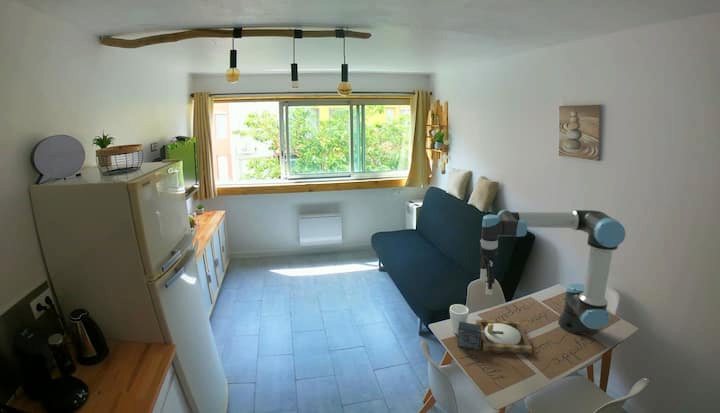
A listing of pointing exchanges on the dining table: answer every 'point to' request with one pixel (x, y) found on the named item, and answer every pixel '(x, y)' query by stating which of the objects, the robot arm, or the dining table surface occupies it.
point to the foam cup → (458, 316)
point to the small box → (469, 335)
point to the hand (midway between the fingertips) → (485, 287)
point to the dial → (502, 334)
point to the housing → (521, 348)
